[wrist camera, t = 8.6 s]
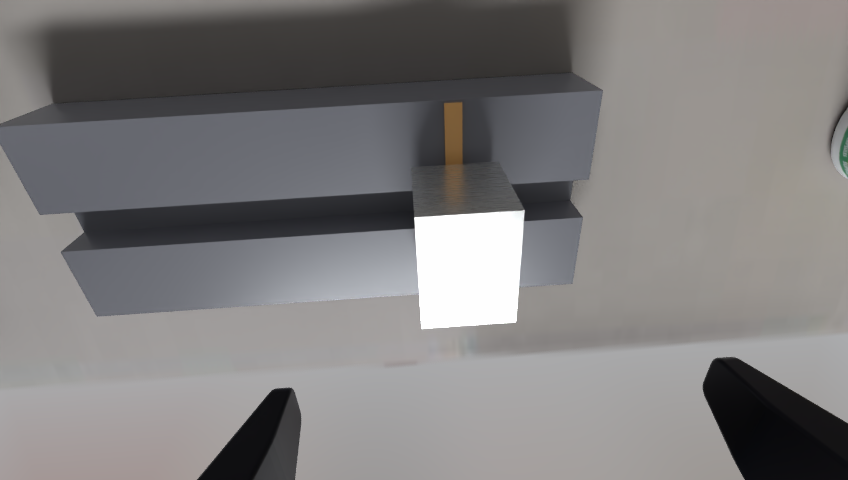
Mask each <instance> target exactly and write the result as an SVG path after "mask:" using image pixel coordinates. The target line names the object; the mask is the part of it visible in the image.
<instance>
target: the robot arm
mask: <svg viewBox="0 0 848 480" xmlns="http://www.w3.org/2000/svg"><path fill="white" fill-rule="evenodd" d="M703 392H704V396H705V398H706V400H707V402H708V405H709V407H710V409H711V411H712V413H713V415H714V418H715V420H716V422H717V424H718V426H719V429H720V431H721V433H722V435H723V437H724V440H725V442H726V444H727V446H728V448H729V450H730V453H731V455H732V457H733V459H734V461H735V463H736V465H737V466H738V468H739V470H740V472H741V474H742V476H743V477H744V479H745V480H848V423H846V422H845V421H843V420H841V419H840V418H838V417H836V416H834V415H833V414H831V413H829V412H828V411H826V410H824V409H823V408H821V407H819V406H818V405H816V404H814V403H812V402H811V401H809V400H807V399H806V398H804V397H802V396H801V395H799V394H797V393H796V392H794V391H792V390H790V389H788V388H787V387H785V386H784V385H782V384H780V383H779V382H777V381H775V380H774V379H772V378H770V377H768V376H767V375H765V374H763V373H762V372H760V371H758V370H757V369H755V368H753V367H752V366H750V365H748V364H747V363H745V362H743V361H741V360H739V359H738V358H734V357H726V358H725V357H724V358H716V359H714V360H713V361H712V363H711V365H710V368H709V370H708V372H707V375H706V377H705V380H704V382H703ZM300 429H301V413H300V409H299V405H298V402H297V398H296V395H295V392H294V390H293V389H292V388H279V389H274V390H272V391H271V392H270V393H269V394H268V395H267V397H266V398H265V399H264V400H263V401H262V403H261V404H260V405H259V406H258V407H257V409H256V410H255V411H254V412H253V413H252V415H251V416H250V417H249V418H248V419H247V421H246V422H245V423H244V424H243V425H242V427H241V428H240V429H239V430H238V432H237V433H236V434H235V435H234V436H233V437H232V439H231V440H230V441H229V442H228V443H227V445H226V446H225V447H224V448H223V449H222V451H221V452H220V453H219V454H218V455H217V457H216V458H215V459H214V460H213V461H212V463H211V464H210V465H209V466H208V467H207V469H206V470H205V471H204V472H203V473H202V475H201V476H200V477H199V478H198V479H197V480H295V473H296V464H297V456H298V446H299V438H300Z"/></svg>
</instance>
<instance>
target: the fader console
mask: <svg viewBox="0 0 848 480" xmlns="http://www.w3.org/2000/svg"><path fill="white" fill-rule="evenodd" d="M602 93H603V90H601V89H600V88H598V87H596V86H595V85H593V84H591V83H589V82H588V81H586V80H584V79H583V78H581V77H579V76H577V75H576V74H574V73H559V74H542V75H526V76H509V77H492V78H475V79H459V80H442V81H425V82H408V83H392V84H375V85H358V86H341V87H325V88H308V89H291V90H274V91H258V92H241V93H224V94H208V95H191V96H174V97H157V98H141V99H124V100H107V101H90V102H74V103H57V104H50V105H48V106H45V107H43V108H40V109H37V110H35V111H32V112H30V113H27V114H25V115H22V116H19V117H17V118H14V119H12V120H9V121H6V122H4V123H1V124H0V145H1V146H2V148H3V150H4V152H5V153H6V155H7V157H8V159H9V161H10V162H11V164H12V166H13V168H14V170H15V171H16V173H17V175H18V177H19V178H20V180H21V182H22V184H23V186H24V187H25V189H26V191H27V193H28V195H29V196H30V198H31V200H32V202H33V203H34V205H35V207H36V209H37V211H38V212H39V214H40V215H44V214H60V213H75V215H76V217H77V219H78V221H79V222H80V224H81V226H82V228H83V230H84V233H83V234H82V235H81V236H79V237H78V238H77V239H76V240H75V241H73V242H72V243H71V244H70V245H69V246H67V247H66V248H65V249H64V250H63V251H61V253H62V255H63V257H64V259H65V261H66V262H67V264H68V266H69V268H70V269H71V271H72V273H73V275H74V277H75V278H76V280H77V282H78V284H79V286H80V287H81V289H82V291H83V293H84V294H85V296H86V298H87V300H88V302H89V303H90V305H91V307H92V309H93V310H94V312H95V314H96V316H111V315H125V314H140V313H154V312H169V311H183V310H198V309H212V308H227V307H241V306H256V305H270V304H285V303H299V302H314V301H328V300H343V299H357V298H372V297H386V296H401V295H415V294H419V281H418V267H417V251H416V236H415V221H414V206H413V191H412V176H411V167H423V166H439V165H455V164H470V163H486V162H499V163H500V165H501V167H502V169H503V170H504V172H505V174H506V176H507V178H508V180H509V182H510V184H511V185H512V187H513V189H514V191H515V193H516V195H517V197H518V199H519V200H520V202H521V204H522V206H523V208H524V210H525V213H524V226H523V238H522V251H521V263H520V276H519V287H531V286H546V285H560V284H573V277H574V271H575V264H576V258H577V252H578V245H579V239H580V233H581V226H582V220H583V217H582V216H581V214H580V213H579V212H578V210H577V209H576V208H575V206H574V205H573V204H572V202H571V201H570V197H571V190H572V183H573V180H587V179H589V176H590V169H591V163H592V157H593V150H594V144H595V137H596V131H597V125H598V118H599V112H600V106H601V99H602Z"/></svg>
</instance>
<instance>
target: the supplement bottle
mask: <svg viewBox="0 0 848 480" xmlns="http://www.w3.org/2000/svg"><path fill="white" fill-rule="evenodd" d="M831 158H832V161H833V164H834V166H835V168H836V169H837V171H838V172H839V173H840V174H841V175H843V176H844V177H845V178H847V179H848V108H847V109H846V111H845V112H844V114H843V115H842V117H841V118H840V120H839V122H838V124H837V126H836V129H835V132H834V135H833V139H832V144H831Z"/></svg>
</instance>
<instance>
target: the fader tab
mask: <svg viewBox="0 0 848 480" xmlns="http://www.w3.org/2000/svg"><path fill="white" fill-rule="evenodd" d="M411 176H412V191H413V206H414V221H415V236H416V251H417V267H418V281H419V296H420V311H421V325H422V329H423V328H438V327H452V326H466V325H480V324H494V323H509V322H516V314H517V301H518V288H519V276H520V263H521V251H522V238H523V226H524V213H525V210H524V208H523V206H522V204H521V202H520V200H519V199H518V197H517V195H516V193H515V191H514V189H513V187H512V185H511V184H510V182H509V180H508V178H507V176H506V174H505V172H504V170H503V169H502V167H501V165H500V163H499V162H486V163H470V164H455V165H439V166H423V167H411Z"/></svg>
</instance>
